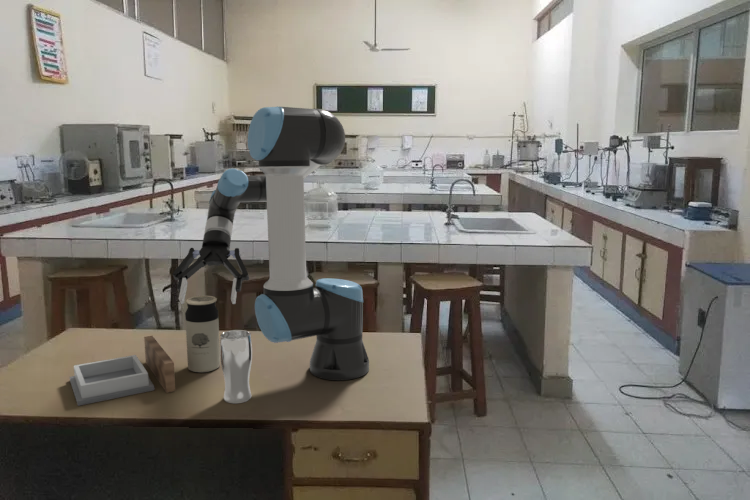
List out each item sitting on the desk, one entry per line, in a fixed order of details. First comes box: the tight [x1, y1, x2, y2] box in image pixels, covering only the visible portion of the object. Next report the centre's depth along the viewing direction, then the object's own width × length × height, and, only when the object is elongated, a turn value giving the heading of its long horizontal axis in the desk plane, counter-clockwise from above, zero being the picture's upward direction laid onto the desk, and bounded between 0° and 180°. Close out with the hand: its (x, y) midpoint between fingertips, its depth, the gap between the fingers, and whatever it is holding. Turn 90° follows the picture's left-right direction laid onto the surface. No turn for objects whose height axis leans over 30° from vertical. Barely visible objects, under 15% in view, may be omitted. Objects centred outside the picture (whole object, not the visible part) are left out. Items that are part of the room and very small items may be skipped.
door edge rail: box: [143, 335, 176, 394], centre depth 144 cm, size 22×2×7 cm, turn 33°
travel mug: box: [184, 295, 221, 373], centre depth 149 cm, size 8×8×18 cm
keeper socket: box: [69, 354, 155, 407], centre depth 139 cm, size 16×16×4 cm
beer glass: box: [219, 329, 253, 405], centre depth 132 cm, size 7×7×15 cm
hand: (207, 301), depth 156 cm, fingers open, 13 cm apart
